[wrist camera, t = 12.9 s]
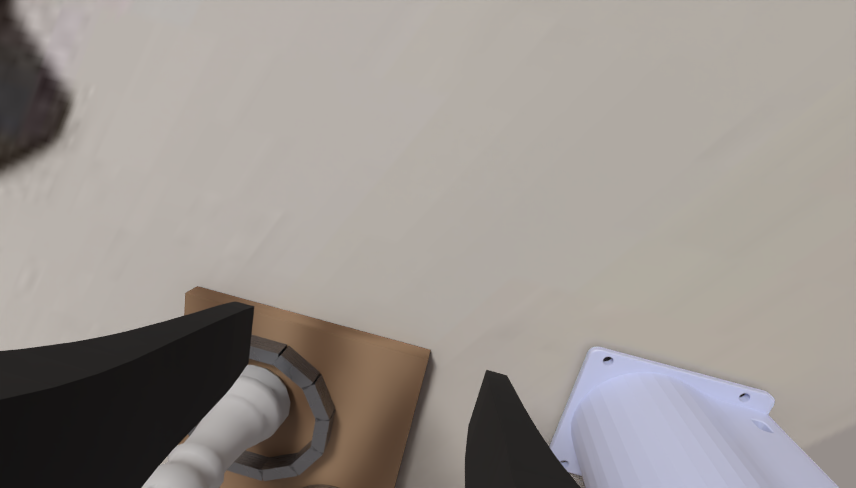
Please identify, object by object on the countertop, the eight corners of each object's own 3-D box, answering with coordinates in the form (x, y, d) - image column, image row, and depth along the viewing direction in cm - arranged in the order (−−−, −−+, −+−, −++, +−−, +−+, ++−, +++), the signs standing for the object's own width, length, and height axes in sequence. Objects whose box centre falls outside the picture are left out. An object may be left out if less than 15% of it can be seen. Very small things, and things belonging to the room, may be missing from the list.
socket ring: (345, 360, 23) (338, 370, 22) (321, 482, 26) (315, 496, 25) (191, 317, 23) (179, 326, 22) (185, 442, 26) (173, 454, 25)
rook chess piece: (304, 380, 23) (218, 504, 16) (281, 436, 25) (192, 574, 17) (233, 347, 23) (114, 455, 16) (214, 405, 25) (96, 529, 17)
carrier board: (430, 349, 23) (428, 359, 22) (372, 568, 28) (368, 584, 28) (197, 286, 24) (185, 293, 23) (184, 511, 29) (174, 524, 28)
